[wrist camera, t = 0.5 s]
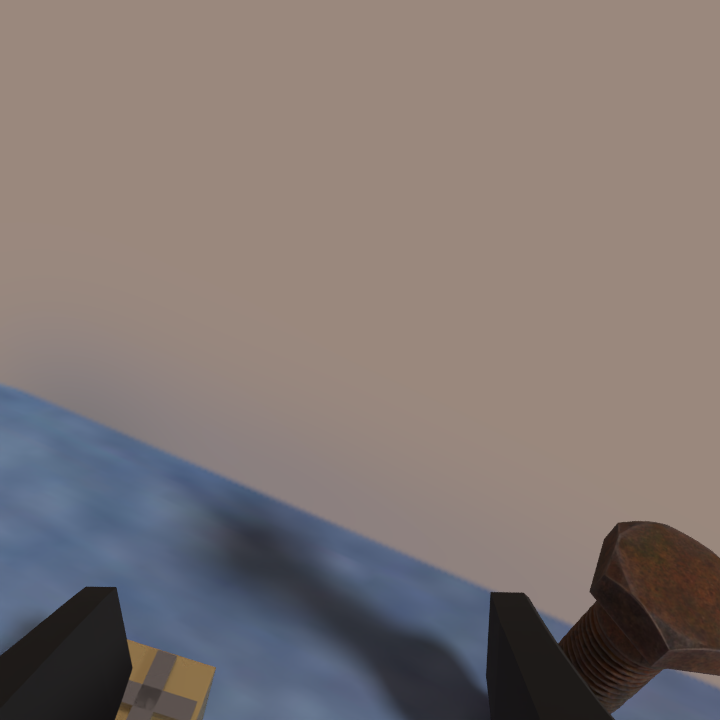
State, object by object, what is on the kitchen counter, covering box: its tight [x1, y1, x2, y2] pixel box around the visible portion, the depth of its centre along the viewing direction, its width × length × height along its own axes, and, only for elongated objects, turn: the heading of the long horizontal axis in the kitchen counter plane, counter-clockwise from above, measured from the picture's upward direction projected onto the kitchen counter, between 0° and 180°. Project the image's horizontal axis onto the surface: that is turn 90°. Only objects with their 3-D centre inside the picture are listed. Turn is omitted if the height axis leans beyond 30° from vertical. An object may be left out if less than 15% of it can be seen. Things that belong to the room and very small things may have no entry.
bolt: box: [558, 521, 720, 714], centre depth 27 cm, size 6×5×15 cm
